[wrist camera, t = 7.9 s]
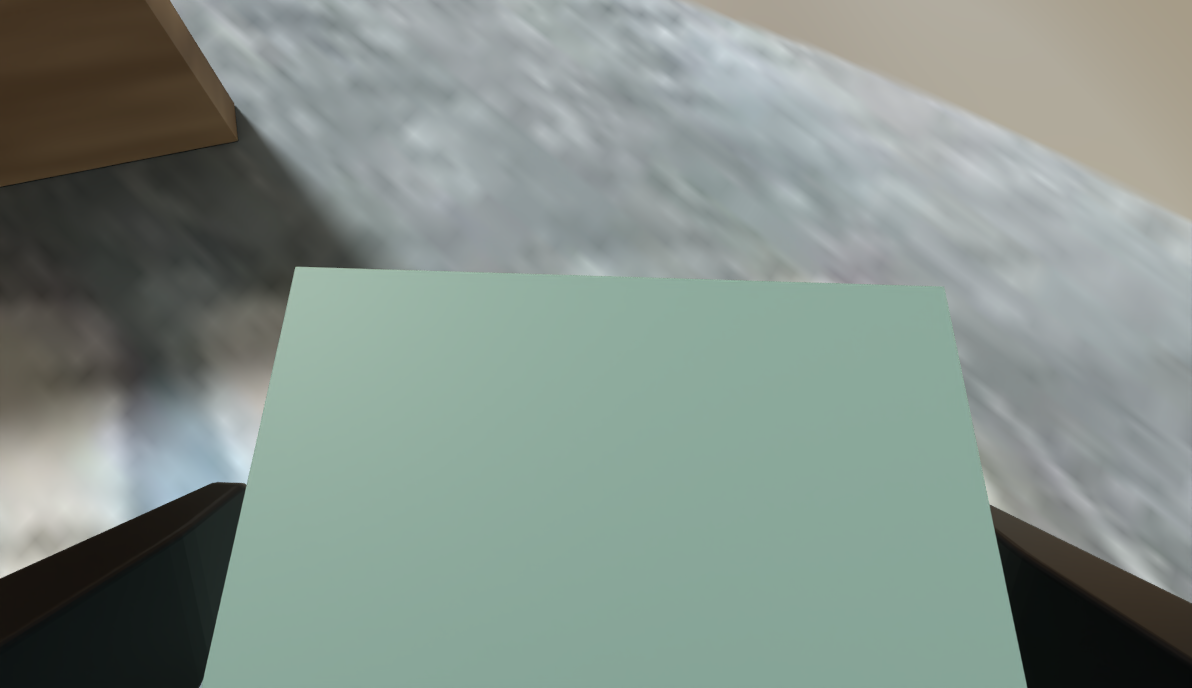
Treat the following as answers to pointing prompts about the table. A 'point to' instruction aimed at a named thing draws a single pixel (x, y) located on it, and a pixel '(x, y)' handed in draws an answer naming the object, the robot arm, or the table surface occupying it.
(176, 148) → the screen
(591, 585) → the block
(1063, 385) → the table surface
